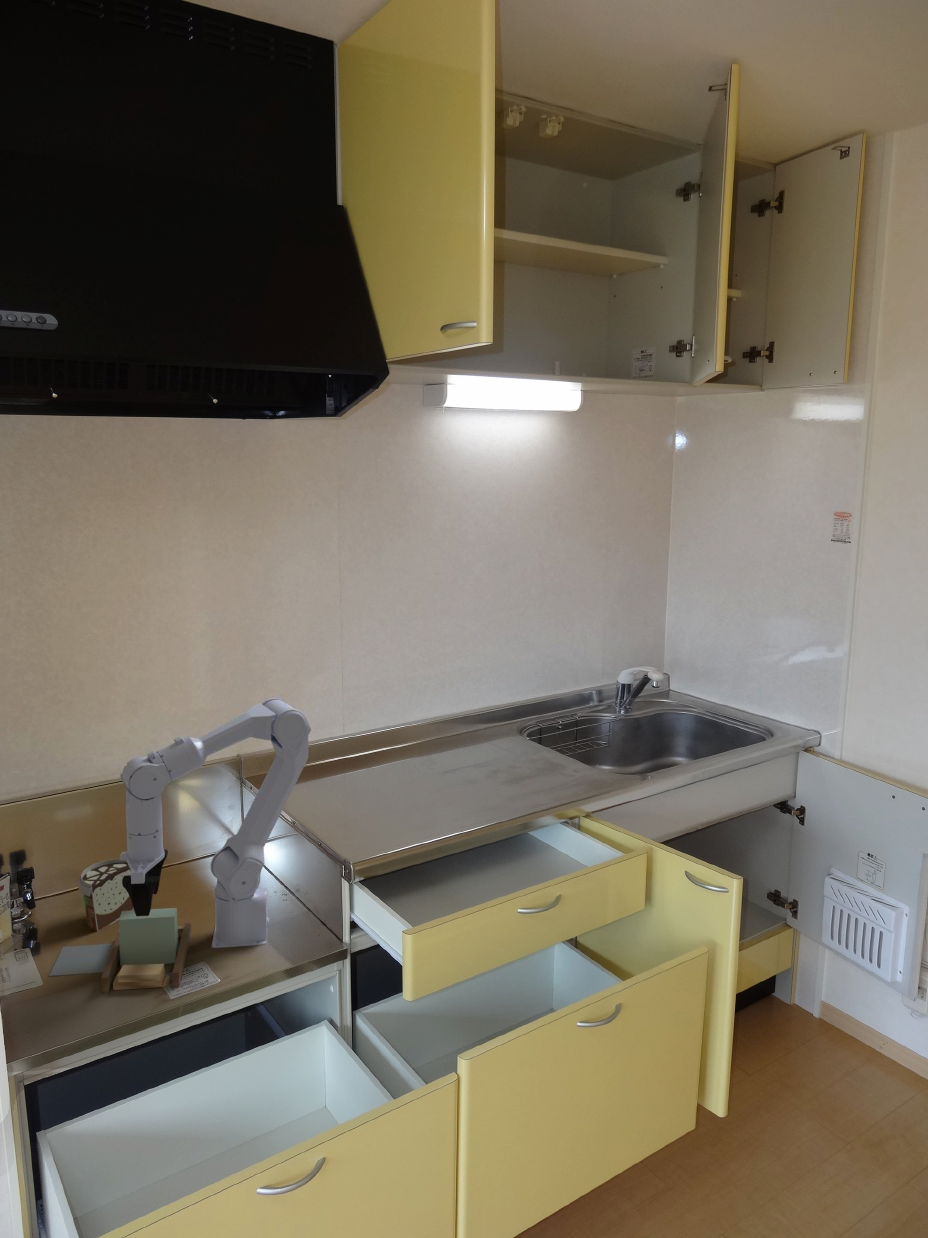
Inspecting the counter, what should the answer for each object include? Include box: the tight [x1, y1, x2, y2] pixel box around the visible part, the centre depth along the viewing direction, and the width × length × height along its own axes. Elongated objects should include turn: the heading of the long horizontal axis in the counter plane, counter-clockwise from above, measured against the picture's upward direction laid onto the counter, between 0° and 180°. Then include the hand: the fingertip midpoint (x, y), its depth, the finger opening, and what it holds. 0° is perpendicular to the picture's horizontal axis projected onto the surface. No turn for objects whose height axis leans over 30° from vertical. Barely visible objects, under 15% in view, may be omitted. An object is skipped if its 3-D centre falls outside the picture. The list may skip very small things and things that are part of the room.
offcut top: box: [118, 964, 165, 982], centre depth 146 cm, size 7×3×1 cm, turn 95°
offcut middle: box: [112, 969, 167, 991], centre depth 146 cm, size 8×3×1 cm, turn 98°
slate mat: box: [48, 943, 114, 977], centre depth 153 cm, size 9×9×1 cm
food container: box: [77, 857, 134, 932], centre depth 167 cm, size 12×6×10 cm, turn 159°
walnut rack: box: [100, 922, 193, 994], centre depth 153 cm, size 12×17×3 cm
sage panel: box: [118, 907, 179, 968], centre depth 153 cm, size 9×3×9 cm, turn 100°
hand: (147, 904), depth 152 cm, fingers open, 7 cm apart
